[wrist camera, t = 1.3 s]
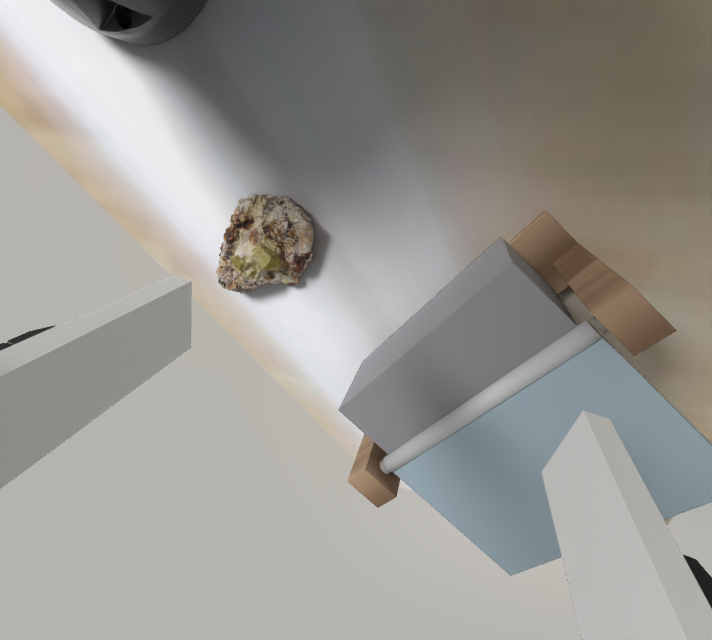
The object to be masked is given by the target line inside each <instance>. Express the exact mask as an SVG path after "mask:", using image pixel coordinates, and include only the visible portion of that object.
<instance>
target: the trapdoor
mask: <svg viewBox="0 0 712 640" xmlns="http://www.w3.org/2000/svg"><path fill="white" fill-rule="evenodd" d="M583 410H584V411H587V412H590V413H593V414H596V415H599V416H602V417H605V418H608V419H610V420H611V422H612V424H613V426H614V428H615V430H616V431H617V433H618V435H619V437H620V439H621V441H622V443H623V445H624V446H625V448H626V450H627V452H628V454H629V456H630V458H631V459H632V461H633V463H634V465H635V467H636V469H637V471H638V472H639V474H640V476H641V478H642V480H643V482H644V484H645V486H646V487H647V489H648V491H649V493H650V495H651V497H652V499H653V500H654V502H655V504H656V506H657V508H658V510H659V512H660V513H661V515H662V517H663V519H667V518H669V517H672V516H675V515H677V514H680V513H683V512H686V511H688V510H691V509H694V508H696V507H699V506H702V505H704V504H707V503H710V502H712V444H711V443H710V442H709V441H708V440H707V439H706V438H705V437H704V436H703V435H702V434H701V433H700V432H699V431H698V430H697V429H696V428H695V427H694V426H693V425H692V424H691V423H690V422H689V421H688V420H687V419H686V418H685V417H684V416H683V415H682V414H681V413H680V412H679V411H678V410H677V409H676V408H675V407H674V406H673V405H672V404H671V403H670V402H669V401H668V400H667V399H665V398H664V397H663V396H662V395H661V394H660V393H659V392H658V391H657V390H656V389H655V388H654V387H653V386H652V385H651V384H650V383H649V382H648V381H647V380H646V379H645V378H644V377H643V376H642V375H641V374H640V373H639V372H638V371H637V370H636V369H635V368H634V367H633V366H632V365H631V364H630V363H629V362H628V361H627V360H626V359H625V358H624V357H623V356H622V355H621V354H620V353H619V352H618V351H617V350H616V349H615V348H614V347H613V346H612V345H611V344H610V343H609V342H608V341H607V340H606V339H605V338H604V337H603V336H602V335H601V334H600V333H599V332H598V331H597V330H596V329H595V328H594V327H593V326H592V325H591V324H590V323H589V322H588V321H587V320H585V321H583V322H582V323H580V324H579V325H577V324H576V323H575V321H574V320H573V318H572V317H571V315H570V314H569V312H568V311H567V309H566V308H565V306H564V305H563V303H562V302H561V300H560V299H559V297H558V296H557V294H556V293H555V291H554V290H553V288H552V287H551V285H550V284H549V283H548V282H547V281H546V280H545V279H543V278H542V277H541V276H540V275H539V274H538V273H537V272H536V271H535V270H534V269H533V268H532V267H531V266H530V265H529V264H528V263H527V262H526V261H525V260H524V259H523V258H522V257H521V256H520V255H519V254H518V253H517V252H516V251H515V250H514V249H513V248H512V247H511V246H510V245H509V244H508V243H507V242H506V241H505V240H504V239H503V238H502V237H500V238H499V239H498V240H497V241H496V242H495V243H494V244H492V245H491V246H490V247H489V248H488V249H487V250H486V251H485V252H484V253H482V254H481V255H480V256H479V257H478V258H477V259H476V260H475V261H474V262H472V263H471V264H470V265H469V266H468V267H467V268H466V269H465V270H464V271H462V272H461V273H460V274H459V275H458V276H457V277H456V278H455V279H454V280H453V281H451V282H450V283H449V284H448V285H447V286H446V287H445V288H444V289H443V290H441V291H440V292H439V293H438V294H437V295H436V296H435V297H434V298H433V299H431V300H430V301H429V302H428V303H427V304H426V305H425V306H424V307H423V308H421V309H420V310H419V311H418V312H417V313H416V314H415V315H414V316H413V317H411V318H410V319H409V320H408V321H407V322H406V323H405V324H404V325H403V326H401V327H400V328H399V329H398V330H397V331H396V332H395V333H394V334H393V335H391V336H390V337H389V338H388V339H387V340H386V341H385V342H384V343H383V344H381V345H380V346H379V347H378V348H377V349H376V350H375V351H374V352H373V353H371V354H370V355H369V356H368V357H367V358H366V359H365V360H364V361H363V362H362V364H361V366H360V368H359V370H358V372H357V374H356V376H355V378H354V380H353V382H352V384H351V386H350V388H349V390H348V392H347V394H346V396H345V398H344V400H343V402H342V404H341V406H340V408H339V411H340V412H341V413H342V414H343V415H344V416H346V417H347V418H348V419H349V420H350V421H351V422H352V423H353V424H355V425H356V426H357V427H358V428H359V429H360V430H361V431H362V432H364V433H365V434H366V435H367V436H368V437H369V438H370V439H371V440H373V441H374V442H375V443H376V444H377V445H378V446H379V447H380V448H382V449H383V450H384V451H385V452H386V453H387V454H388V455H387V456H385V457H384V459H383V462H384V465H385V467H386V469H387V470H388V471H390V472H394V473H395V474H396V475H397V476H398V477H399V478H400V479H401V480H403V481H404V482H405V483H406V484H407V485H408V486H409V487H411V488H412V489H413V490H414V491H415V492H416V493H417V494H418V495H420V496H421V497H422V498H423V499H424V500H425V501H426V502H428V503H429V504H430V505H431V506H432V507H433V508H434V509H435V510H437V511H438V512H439V513H440V514H441V515H442V516H443V517H445V518H446V519H447V520H448V521H449V522H450V523H451V524H452V525H454V526H455V527H456V528H457V529H458V530H459V531H460V532H461V533H463V534H464V535H465V536H466V537H467V538H468V539H469V540H471V541H472V542H473V543H474V544H475V545H476V546H477V547H478V548H480V549H481V550H482V551H483V552H484V553H485V554H486V555H488V556H489V557H490V558H491V559H492V560H493V561H494V562H495V563H497V564H498V565H499V566H500V567H501V568H502V569H504V570H505V571H506V572H507V573H508V574H509V575H510V576H511V575H514V574H517V573H520V572H522V571H525V570H528V569H530V568H533V567H536V566H539V565H541V564H544V563H547V562H549V561H552V560H555V559H558V558H560V557H562V555H561V551H560V547H559V543H558V539H557V535H556V530H555V526H554V522H553V518H552V514H551V510H550V505H549V501H548V497H547V493H546V489H545V485H544V480H543V476H542V471H543V469H544V468H545V466H546V465H547V463H548V462H549V460H550V459H551V457H552V456H553V454H554V453H555V451H556V450H557V448H558V447H559V445H560V444H561V442H562V441H563V440H564V438H565V437H566V435H567V434H568V432H569V431H570V429H571V428H572V426H573V425H574V423H575V422H576V420H577V419H578V417H579V416H580V414H581V413H582V411H583Z"/></svg>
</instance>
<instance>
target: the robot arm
mask: <svg viewBox="0 0 712 640" xmlns="http://www.w3.org/2000/svg"><path fill="white" fill-rule="evenodd" d="M50 1H51V2H53V3H54V4H55V5H57V6H58V7H59V8H61V9H62V10H63V11H65V12H66V13H67V14H68V15H70V16H71V17H72V18H74V19H75V20H77V21H78V22H80V23H81V24H83V25H85V26H87V27H88V28H90V29H92V30H94V31H96V32H99V33H101V34H104V35H107V36H110V37H113V38H116V39H119V40H122V41H125V42H128V43H133V44H141V45H147V44H155V43H159V42H162V41H165V40H167V39H169V38H171V37H173V36H175V35H176V34H178V33H179V32H181V31H182V30H183V29H184V28H185V27H186V26H187V25H188V24H189V23H190V22H191V21H192V20H193V19H194V17H195V16H196V15H197V13H198V12H199V10H200V9H201V7H202V6H203V4H204V2H205V0H50ZM191 282H192V281H189V280H186V279H183V278H180V277H177V276H174V275H170V276H168V277H166V278H163V279H161V280H159V281H157V282H154V283H152V284H150V285H148V286H146V287H143V288H141V289H139V290H136V291H134V292H132V293H130V294H127V295H125V296H123V297H121V298H118V299H116V300H114V301H112V302H109V303H107V304H105V305H103V306H100V307H98V308H96V309H94V310H91V311H89V312H87V313H85V314H82V315H80V316H78V317H76V318H73V319H71V320H69V321H67V322H64V323H62V324H60V325H57V326H51V327H46V328H42V329H38V330H34V331H29V332H27V333H25V334H22V335H20V336H18V337H15V338H13V339H11V340H8V342H7V343H6V344H5V343H2V344H0V489H1V488H2V487H3V486H5V485H6V484H8V483H9V482H10V481H12V480H13V479H14V478H15V477H17V476H18V475H20V474H21V473H23V472H24V471H25V470H26V469H28V468H29V467H31V466H32V465H33V464H35V463H36V462H37V461H39V460H40V459H41V458H43V457H44V456H45V455H47V454H48V453H49V452H51V451H52V450H53V449H55V448H56V447H58V446H59V445H60V444H62V443H63V442H64V441H65V440H67V439H68V438H70V437H71V436H72V435H74V434H75V433H76V432H78V431H79V430H80V429H81V428H83V427H85V426H86V425H87V424H89V423H90V422H91V421H92V420H94V419H95V418H97V417H98V416H99V415H101V414H102V413H103V412H105V411H106V410H107V409H109V408H110V407H111V406H113V405H114V404H115V403H117V402H118V401H120V400H121V399H122V398H124V397H125V396H126V395H128V394H129V393H130V392H132V391H133V390H134V389H136V388H137V387H138V386H140V385H141V384H143V383H144V382H145V381H146V380H148V379H149V378H151V377H152V376H153V375H155V374H156V373H157V372H159V371H160V370H161V369H163V368H164V367H165V366H167V365H168V364H169V363H171V362H172V361H173V360H175V359H176V358H177V357H179V356H180V355H182V354H183V353H184V352H186V351H187V350H188V349H190V348H191ZM542 476H543V480H544V485H545V489H546V493H547V497H548V501H549V505H550V510H551V514H552V518H553V522H554V526H555V530H556V535H557V539H558V543H559V547H560V551H561V555H562V560H563V564H564V568H565V572H566V576H567V581H568V584H569V589H570V593H571V597H572V601H573V606H574V609H575V614H576V618H577V622H578V626H579V630H580V635H581V639H582V640H712V577H711V576H710V575H709V574H708V573H707V572H706V571H705V569H704V568H703V567H702V566H701V565H700V564H699V562H698V561H697V560H696V559H693V558H691V557H688V556H685V555H683V554H682V553H681V551H680V549H679V547H678V545H677V543H676V542H675V540H674V538H673V536H672V534H671V532H670V530H669V528H668V527H667V525H666V523H665V521H664V519H663V517H662V515H661V513H660V512H659V510H658V508H657V506H656V504H655V502H654V500H653V499H652V497H651V495H650V493H649V491H648V489H647V487H646V486H645V484H644V482H643V480H642V478H641V476H640V474H639V472H638V471H637V469H636V467H635V465H634V463H633V461H632V459H631V458H630V456H629V454H628V452H627V450H626V448H625V446H624V445H623V443H622V441H621V439H620V437H619V435H618V433H617V431H616V430H615V428H614V426H613V424H612V422H611V420H610V419H608V418H605V417H602V416H599V415H596V414H593V413H590V412H587V411H584V410H583V411H582V413H581V414H580V416H579V417H578V419H577V420H576V422H575V423H574V425H573V426H572V428H571V429H570V431H569V432H568V434H567V435H566V437H565V438H564V440H563V441H562V442H561V444H560V445H559V447H558V448H557V450H556V451H555V453H554V454H553V456H552V457H551V459H550V460H549V462H548V463H547V465H546V466H545V468H544V469H543V471H542Z"/></svg>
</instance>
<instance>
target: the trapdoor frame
mask: <svg viewBox="0 0 712 640" xmlns="http://www.w3.org/2000/svg"><path fill="white" fill-rule="evenodd" d="M508 244H509V245H510V246H511V247H512V248H513V249H514V250H515V251H516V252H517V253H518V254H519V255H520V256H521V257H522V258H523V259H524V260H525V261H526V262H527V263H528V264H529V265H530V266H531V267H532V268H533V269H534V270H535V271H536V272H537V273H538V274H539V275H540V276H541V277H542V278H543V279H545V280H546V281H547V282H548V283H549V284H550V285H551V287H552V288H553V290H554V291H555V293H556V294H559V293H560V292H561V291H563V290H564V289H565V288H567V287H568V286H570V287H571V288H572V290H573V291H574V292H575V293H576V295H577V296H578V297H579V298H580V300H581V301H582V302H583V303H584V305H585V306H586V307H587V308H588V310H589V311H590V312H591V313H592V314H593V315H594V317H593V318H591V320H592V321H593V323H594V324H595V325H596V326H597V327H598V328H599V329H600V330H601V331H602V332H603V333H604V334H606V333H607V332H609V331H610V332H611V333H612V334H613V335H614V336H615V337H616V338H617V339H618V340H619V341H620V342H621V343H622V344H623V345H624V346H625V347H626V348H627V349H628V350H629V351H630V352H631V353H632V354H633V355H634V356H635V355H637V354H638V353H640V352H642V351H643V350H645V349H647V348H649V347H650V346H652V345H654V344H655V343H657V342H659V341H660V340H662V339H664V338H665V337H667V336H669V335H671V334H672V333H674V332H676V331H677V330H676V329H675V328H674V327H673V326H672V325H671V324H670V323H669V322H668V321H667V320H666V319H665V318H664V317H663V316H662V315H661V314H660V313H659V312H658V311H657V310H656V309H655V308H654V307H653V306H652V305H651V304H650V303H649V302H648V301H647V300H646V299H645V298H644V297H643V296H642V295H641V294H640V293H639V292H638V291H637V290H636V289H635V288H634V287H633V286H632V285H631V284H629V283H628V282H627V281H626V280H624V279H623V278H622V277H620V276H619V275H618V274H617V273H615V272H614V271H613V270H611V269H610V268H609V267H608V266H606V265H605V264H604V263H602V262H601V261H600V260H599V259H597V258H596V257H595V256H593V255H592V254H591V253H590V252H588V251H587V250H586V249H584V248H583V247H582V246H581V245H579V244H578V243H577V242H576V241H575V240H574V239H573V238H572V237H571V236H570V235H569V234H568V233H567V232H566V231H565V230H564V229H563V228H562V227H561V226H560V225H559V224H558V223H557V222H556V221H555V220H554V219H553V218H552V217H551V216H550V215H549V214H548V213H547V212H546V211H544V212H543V213H542V214H541V215H540V216H539V217H538V218H536V219H535V220H534V221H533V222H532V223H531V224H530V225H529V226H527V227H526V228H525V229H524V230H523V231H522V232H521V233H519V234H518V235H517V236H516V237H515V238H514V239H513V240H511V241H510V242H509V243H508ZM387 455H388V454H387V453H386V452H385V451H384V450H383V449H382V448H380V447H379V446H378V445H377V444H376V443H375V442H374V441H373V440H371V439H370V438H369V437H368V436H367V435H366V434H364V437H363V440H362V442H361V445H360V448H359V451H358V453H357V456H356V459H355V462H354V464H353V467H352V470H351V473H350V476H349V478H348V482H349V483H350V484H351V485H352V486H353V487H354V488H355V489H357V490H358V491H359V492H360V493H361V494H362V495H364V496H365V497H366V498H367V499H368V500H369V501H370V502H372V503H373V504H374V505H375V506H376V507H380V506H382V505H383V504H385V503H387V502H389V501H390V500H392V499H394V498H395V497H396V496H397V491H398V487H399V482H400V478H399V477H398V476H397V475H396V474H395V473H394V472H390V471H388V470H387V469H386V467H385V465H384V462H383V459H384V457H385V456H387Z"/></svg>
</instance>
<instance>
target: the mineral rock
mask: <svg viewBox="0 0 712 640" xmlns="http://www.w3.org/2000/svg"><path fill="white" fill-rule="evenodd" d="M313 239H314V234H313V228H312V223H311V218H308V217H307V215H306V214H305V213H304V210H303V208H299V207H298V206H296V205H295V204H294V203H293V202H292V201H291V200H290V199H289V198H288V197H285V196H283V197H277V196H271V195H263V196H260V195H258V194H257V195H255V194H253V195H250V196H249V197H248V199H240V200H239V205H238V207H237V208H236V210H235V213H234V215H231V225H230V227H229V228H227V229H226V233H224V242H223V243H222V246H221V248H220V249H221V253H220V254H219V256H220V258H219V259H220V260H219V267H218V269H217V271H216V273H217V275H218V279H219V281H218V282H219V283H220V284H221V286H222V287H223V288H225V289H228V290H232V291H236V292H240V293H241V294H242V292H247V291H251V290H253V289H257V288H259V287H260V286H261V285H265V284H268V283H269V284H279V283H280V282H282V283H284V284H286V285H291V286H294V284H295V283H298V277H302V275H303V272H304V270H305V269H306V268H307V266H308V264H310V263H311V261H313V259H314V254H313V253H312V252H311V247H312V244H313Z"/></svg>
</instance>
